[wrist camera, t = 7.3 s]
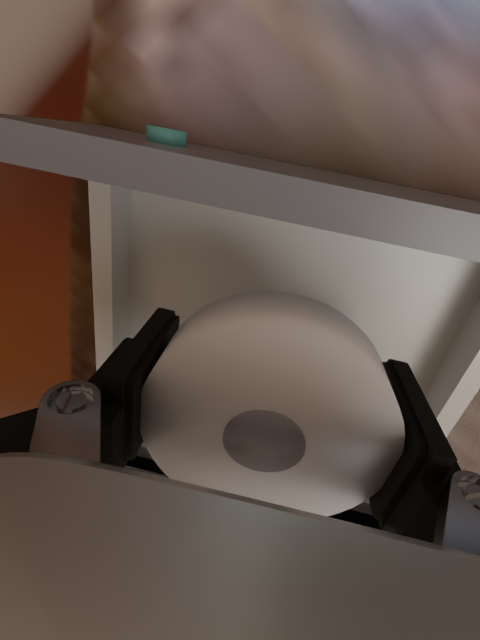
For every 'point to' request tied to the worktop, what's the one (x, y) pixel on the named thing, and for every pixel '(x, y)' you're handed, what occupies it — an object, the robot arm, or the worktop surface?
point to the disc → (274, 404)
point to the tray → (269, 244)
